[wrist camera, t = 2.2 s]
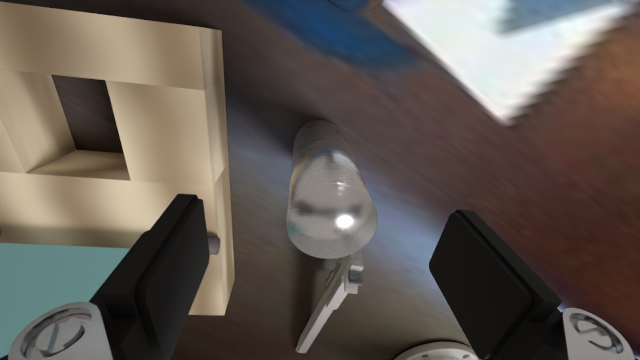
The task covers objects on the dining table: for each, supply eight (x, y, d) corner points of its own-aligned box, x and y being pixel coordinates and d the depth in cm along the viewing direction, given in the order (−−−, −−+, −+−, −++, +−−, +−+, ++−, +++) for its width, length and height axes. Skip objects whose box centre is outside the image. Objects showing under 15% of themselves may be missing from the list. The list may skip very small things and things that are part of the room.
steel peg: (349, 122, 20) (386, 188, 11) (341, 170, 21) (367, 260, 12) (295, 117, 19) (288, 181, 10) (292, 166, 21) (283, 256, 12)
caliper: (343, 217, 24) (355, 270, 18) (354, 219, 24) (369, 272, 19) (295, 346, 33) (293, 407, 27) (303, 347, 33) (303, 408, 27)
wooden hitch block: (224, 30, 16) (193, 26, 12) (236, 279, 26) (222, 328, 22) (-74, -8, 15) (-247, -31, 10) (60, 272, 25) (4, 325, 20)
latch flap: (186, 251, 18) (180, 250, 17) (145, 469, 15) (135, 483, 14) (-3, 242, 17) (-21, 241, 16) (-99, 478, 14) (-128, 494, 13)
